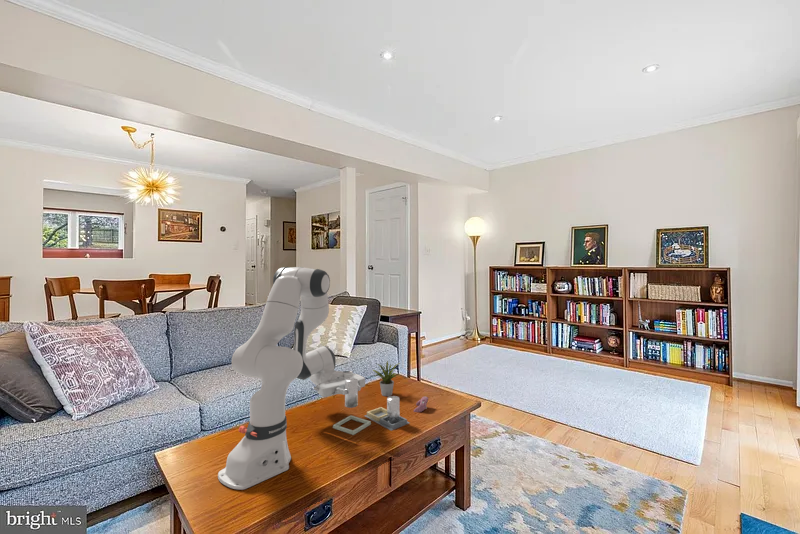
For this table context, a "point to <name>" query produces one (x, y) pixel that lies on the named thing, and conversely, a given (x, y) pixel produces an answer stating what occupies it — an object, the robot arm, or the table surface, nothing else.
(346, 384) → the steel billet
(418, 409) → the video game controller
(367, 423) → the tray
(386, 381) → the house plant
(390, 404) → the cylinder
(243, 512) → the table surface
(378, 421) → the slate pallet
